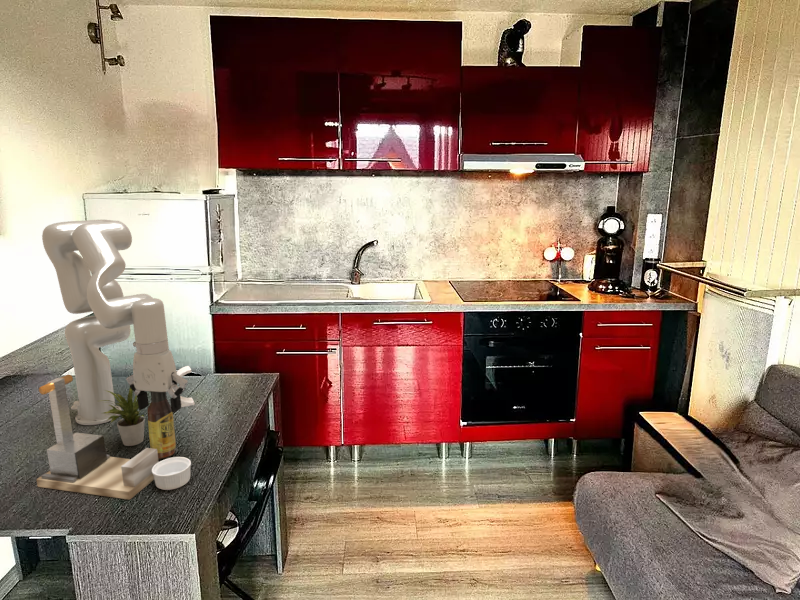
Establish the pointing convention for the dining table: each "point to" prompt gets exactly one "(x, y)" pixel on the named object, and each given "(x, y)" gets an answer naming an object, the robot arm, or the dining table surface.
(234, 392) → the dining table surface
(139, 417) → the house plant
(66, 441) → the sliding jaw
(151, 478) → the clamp base
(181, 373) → the white curved arc piece
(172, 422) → the sauce bottle
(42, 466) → the dining table surface
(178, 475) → the ramekin
